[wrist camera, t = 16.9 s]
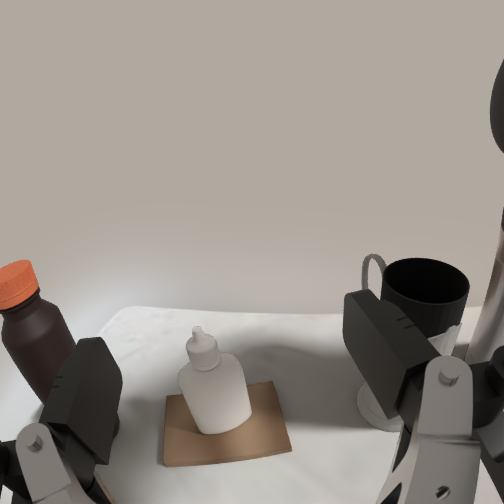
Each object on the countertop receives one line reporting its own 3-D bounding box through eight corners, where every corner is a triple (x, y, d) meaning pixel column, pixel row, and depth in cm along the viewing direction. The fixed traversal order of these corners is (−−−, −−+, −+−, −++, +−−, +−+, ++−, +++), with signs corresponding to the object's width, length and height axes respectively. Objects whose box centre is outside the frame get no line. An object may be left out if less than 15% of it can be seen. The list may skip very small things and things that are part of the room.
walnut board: (273, 386, 31) (272, 380, 31) (291, 451, 23) (291, 446, 22) (169, 401, 30) (166, 395, 29) (166, 466, 22) (163, 462, 21)
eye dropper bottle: (200, 402, 28) (169, 313, 24) (253, 402, 28) (236, 310, 23) (193, 435, 24) (153, 347, 20) (251, 436, 24) (230, 347, 19)
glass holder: (378, 445, 21) (420, 324, 15) (325, 356, 34) (328, 243, 28) (446, 409, 23) (495, 288, 17) (384, 337, 35) (397, 230, 30)
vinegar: (126, 407, 29) (53, 250, 21) (113, 453, 22) (7, 289, 15) (81, 403, 29) (6, 259, 21) (64, 444, 22) (-36, 293, 15)
